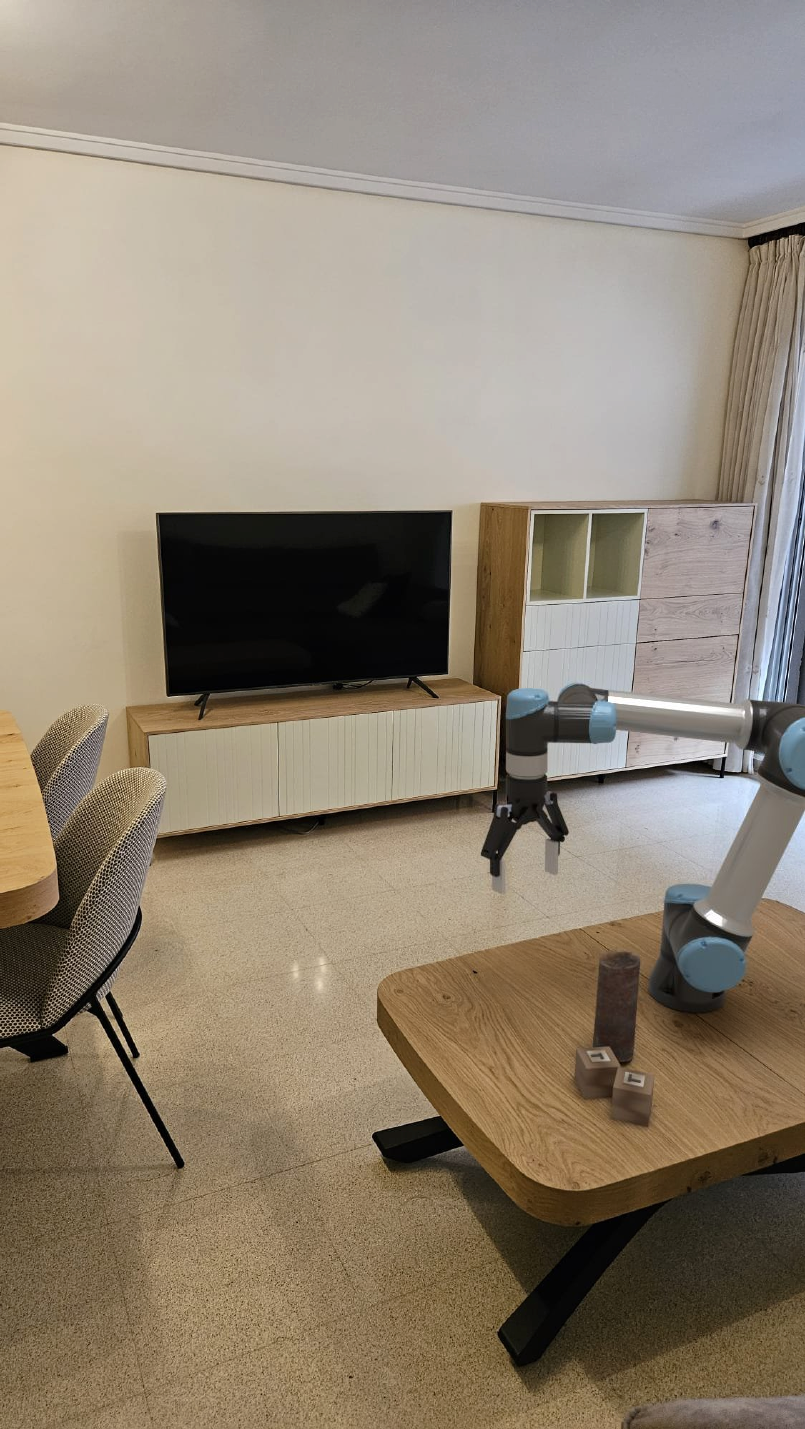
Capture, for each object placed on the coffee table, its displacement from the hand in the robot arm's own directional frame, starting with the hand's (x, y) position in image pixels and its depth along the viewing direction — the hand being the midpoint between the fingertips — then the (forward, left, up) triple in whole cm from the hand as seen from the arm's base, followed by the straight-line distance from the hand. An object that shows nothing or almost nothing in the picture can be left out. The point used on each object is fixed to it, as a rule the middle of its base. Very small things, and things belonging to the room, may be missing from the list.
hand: (525, 882), depth 185 cm
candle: (-16, +11, -29) cm, 35 cm away
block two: (-12, +21, -29) cm, 38 cm away
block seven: (-18, +27, -29) cm, 43 cm away
